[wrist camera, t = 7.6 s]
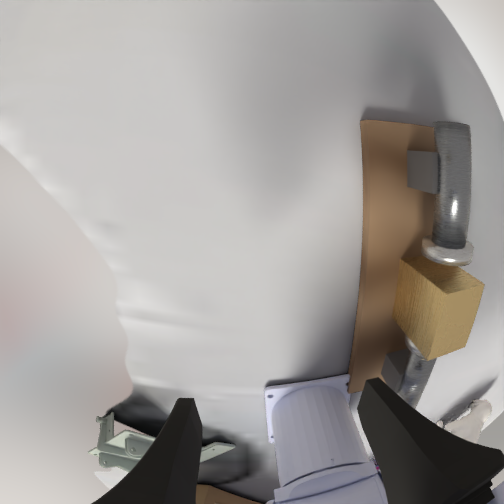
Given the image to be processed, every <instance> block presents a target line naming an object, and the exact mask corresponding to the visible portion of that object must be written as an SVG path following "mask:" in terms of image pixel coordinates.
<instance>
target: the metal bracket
mask: <svg viewBox="0 0 504 504" xmlns="http://www.w3.org/2000/svg"><path fill="white" fill-rule="evenodd" d="M96 422H99V423H100V435H99V439H98V445H97V447H96V448H94V449H92V450H90V451H89V452H88V454H91V455H94V456H97V457H99V464H100V466H101V467H103V468H110V467H118V468H120V469H122V470H125V471H127V472H130V471H131V470H132V469H133V468H134V467H135V465H136V464H137V463H138V462H139V461H140V459H141V458H142V457H143V456H144V454H145V453H146V452H147V450H148V449H149V447H150V446H151V445H152V443H153V442H154V440H155V439H156V438H155V437H151V436H148V435H144V434H140V433H137V432H133V431H130V430H124V431H122V432H121V433H119V434H117V435H116V436H114V412H112V413H110V415H108V416H107V415H106V414H105V415H104V416H103V417H99V416H97V418H96ZM233 448H235V445H234V444H227V443H220V442H214V443H212V444H210V445H207V446H205V447H202V450H201V457H200V462H203V461H205V460H208V459H210V458H213V457H215V456H217V455H220V454H222V453H224V452H227V451H229V450H231V449H233ZM104 462H105V464H104Z"/></svg>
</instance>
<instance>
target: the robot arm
mask: <svg viewBox="0 0 504 504" xmlns="http://www.w3.org/2000/svg"><path fill="white" fill-rule="evenodd" d="M349 379H350V375H349V374H345V375H340V376H335V377H329V378H324V379H318V380H312V381H306V382H299V383H292V384H284V385H276V386H268V387H266V388H265V389H264V396H265V407H266V419H267V430H268V441H269V443H274V445H275V453H276V460H277V468H278V476H279V483H280V488H278V489H274V496H275V500H270V501H268V502H267V503H266V504H504V481H503V482H502V483H501V484H499V485H498V486H497V487H496V488H494V489H493V490H492V491H491V489H490V487H491V486H492V482H491V479H492V478H493V477H494V476H496V475H497V474H498V473H499V472H500V471H501V470H502V469H503V468H504V455H503V453H502V451H501V450H499V449H494V448H489V447H485V446H482V445H479V444H476V443H473V442H470V441H467V440H465V439H463V438H460V437H458V436H456V435H454V434H452V433H450V432H448V431H446V430H444V429H443V428H441V427H439V426H438V425H436V424H434V423H433V422H431V421H430V420H428V419H427V418H426V417H424V416H423V415H422V414H420V413H419V412H418V411H416V410H415V409H414V408H413V407H412V406H410V405H409V404H408V403H407V402H406V401H404V400H403V399H402V398H401V397H400V396H399V395H398V394H397V393H395V392H394V391H393V390H392V389H391V388H390V387H389V386H388V385H387V384H386V383H385V382H383V381H382V380H381V379H380V378H379V377H376V378H372V379H368V380H366V381H365V385H364V388H363V392H362V395H361V398H360V401H359V404H358V407H357V410H358V414H359V417H360V421H361V425H362V428H363V430H364V433H365V435H366V437H367V440H368V442H369V444H370V447H371V449H372V451H373V454H374V456H375V459H376V461H377V463H378V466H379V469H378V470H377V469H376V467H375V464H374V461H370V460H369V458H368V455H367V452H366V450H365V447H364V444H363V442H362V439H361V436H360V434H359V431H358V429H357V426H356V423H355V421H354V418H353V416H352V413H351V411H350V408H349V406H348V405H349V401H350V396H351V393H350V394H348V392H347V389H348V384H347V382H349ZM201 450H202V423H201V420H200V417H199V414H198V411H197V407H196V404H195V401H194V398H179V399H177V401H176V403H175V406H174V408H173V410H172V411H171V413H170V415H169V417H168V419H167V421H166V422H165V424H164V426H163V427H162V429H161V431H160V432H159V434H158V436H157V437H156V439H155V440H154V442H153V443H152V445H151V446H150V447H149V449H148V450H147V452H146V453H145V454H144V456H143V457H142V458H141V459H140V461H139V462H138V463H137V464H136V465H135V467H134V468H133V469H132V470H131V471H130V472H129V473H128V474H127V475H126V476H125V477H124V478H123V479H122V480H121V481H120V482H119V483H118V484H117V485H116V486H115V487H113V488H112V489H111V490H110V491H108V492H107V493H106V494H105V495H103V496H102V497H101V498H99V499H98V500H96V501H95V502H93V503H92V504H196V486H197V479H198V472H199V465H200V457H201Z"/></svg>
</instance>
